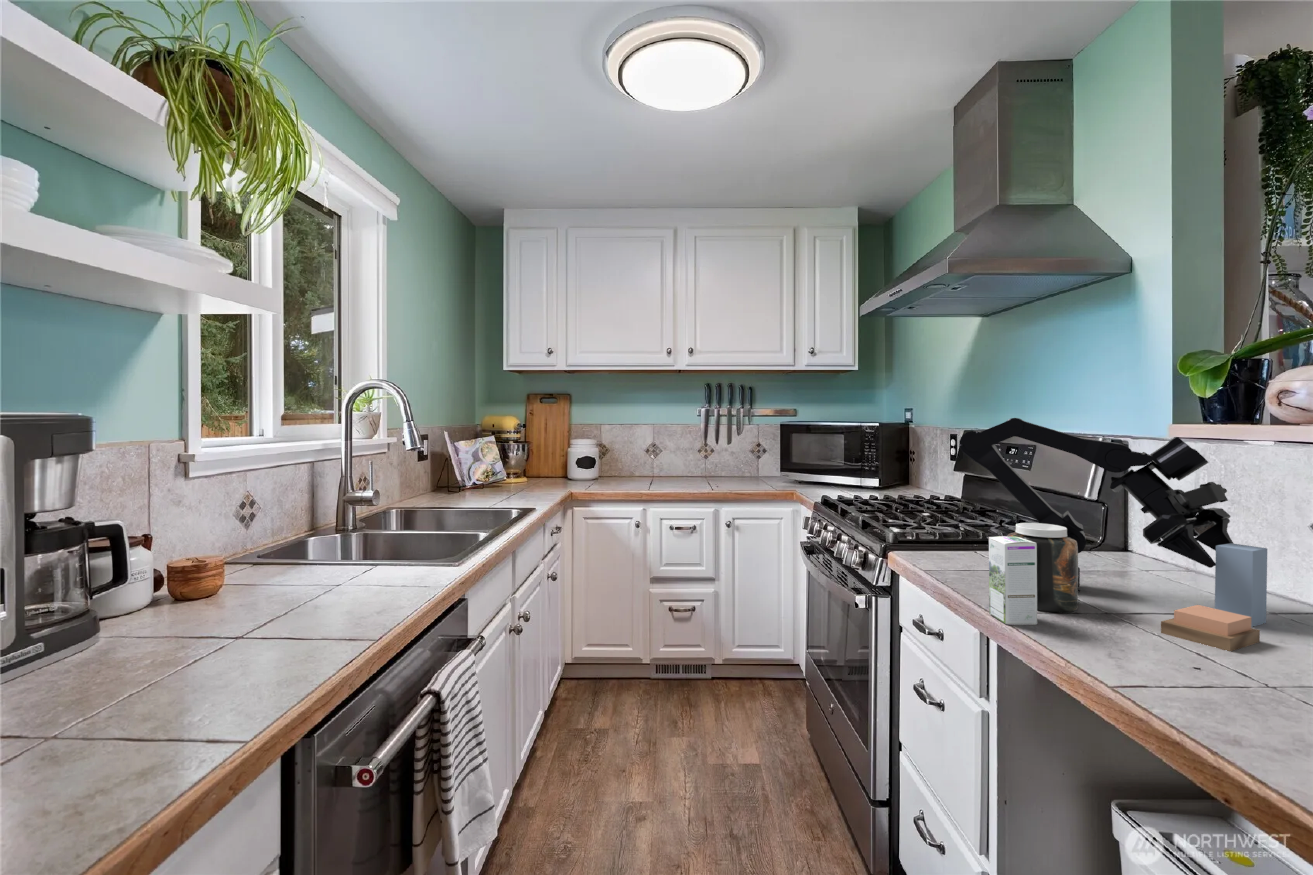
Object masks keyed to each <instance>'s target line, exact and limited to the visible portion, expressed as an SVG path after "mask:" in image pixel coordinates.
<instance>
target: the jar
mask: <svg viewBox="0 0 1313 875" xmlns="http://www.w3.org/2000/svg"><path fill="white" fill-rule="evenodd" d="M1006 536H1015V537H1020V538H1023V539H1026V540H1029V541H1032V542H1035V543H1037V611H1040V612H1046V613H1048V612H1049V613H1070V612H1071V613H1072V612H1075V611H1078V607H1079V592H1078V588H1079V587H1078V567H1079V553H1078V546H1077V542H1076V540H1074V539H1072V538H1070V537H1067V528H1066V527H1063V526H1058V525H1052V524H1043V523H1039V522H1020V523H1016V524H1015V531H1014V532H1011V533H1008V534H1007V535H1006Z"/></svg>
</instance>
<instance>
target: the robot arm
mask: <svg viewBox="0 0 1313 875" xmlns="http://www.w3.org/2000/svg"><path fill="white" fill-rule="evenodd" d="M1013 437H1014V438H1015V437H1017V438H1020V439H1023V440H1026V441H1031V442H1033V443H1036V444H1040V445H1043V446H1046V447H1050V448H1053V449H1055V450H1059V451H1063V452H1066V453H1069V454H1071V455H1074V456H1077V457H1079V458H1081V459H1083V460H1085V461H1087V462H1088V463H1090V464H1093V465H1095V466H1097V467H1099V468H1101V469H1103V470H1105V471H1107V472H1110V473H1117V474H1118V473H1119V474H1120V473H1123V472H1125V471H1127V470H1128V471H1127V472H1125V473H1124V474H1122V475H1121V476H1119V477H1118V476H1117V477H1116V476H1111V477H1110V481H1111V482H1110V486H1109V488H1110V490H1112V492H1114V493H1118V492H1120V491H1121V490H1123V489H1125V490H1126V491H1127V492H1128V493H1129V494H1130V495H1131V496H1132V497H1133V498H1134V500H1136V501H1137V502H1138V503H1139V504H1140V505H1141V506H1142V507H1141V508H1140V510H1141V512H1142V513H1143V514H1150V515H1152V516H1151V517H1153V518H1154V519H1155V520H1153V521H1152V522H1150V523H1149V524H1148V525H1147V526H1145V527H1143V529H1142V536H1143V538H1144V539H1145V540H1146V541H1147V542H1148V543H1149V544H1150V545H1153V544H1156V546H1158V547H1161V548H1164V549H1166V550H1168V551H1171V552H1173V553H1176V554H1178V555H1180V556H1183V557H1186V558H1187V559H1189V560H1192V561H1194V562H1196V563H1199V564H1200V565H1202V566H1205V567H1207V568H1209V569H1211V568H1213V567H1215V565H1216V561H1215V560H1214V558H1212V557H1211V556H1210V554H1209V553H1208V552H1207V551H1206V549H1205V548H1204V546H1206V547H1208V548H1210V549H1211V550H1213V551H1215V552H1216V546H1217V545H1223V544H1228V543H1233V544H1235V543H1234V541H1233V540H1232V538H1231V537H1230V535H1229V533H1228V526H1229V523H1230V522H1231V520H1230V518H1231V515H1230V514H1229V513H1228V512H1227V511H1226V510H1224V509H1223V508H1221V507H1210V508H1204V507H1205V506H1210V505H1212V504H1217V503H1224V502H1228V501H1229V499H1228V497H1227V496H1226V494H1227V492H1228V490H1227V489H1226V488H1225V487H1222V485H1221V484H1219V483H1218V484H1217V483H1215V482H1214V481H1208V482H1207V483H1202V484H1200V485H1199V487H1198V488H1194V489H1191V490H1188V491H1184V490H1182V489H1179V488H1178V489H1173V488H1172V487H1171V486H1170V485H1169V484H1167V483H1166V481H1165V480H1163V478H1161V477H1160V476H1159V475H1158V474H1157V473H1156V472H1155V471H1153V470H1154V469H1156V471H1158V472H1159V473H1160V474H1161V475H1162V476H1163V477H1164V478H1165V479H1167V480H1168V481H1170V480H1172V479H1173V480H1175V479H1176V481H1179V482H1180V481H1181V480H1183V479H1184V478H1186V477H1188V476H1189V475H1191V474H1193V473H1194V472H1196V471H1197V470H1199V469H1201V468H1202V467H1205V466H1206V465H1207V464H1209V461H1208V460H1207V459H1206V458H1205V457H1204V456H1203V455H1202V454H1201V453H1200V452H1199V451H1198V450H1196V448H1192V447H1191V446H1190V445H1189V444H1188V443H1186V442H1185V441H1183V440H1182V439H1181V438H1180V437H1178V436H1174V437H1173V438H1171V439H1170V440H1168V441H1167V443H1164V445H1163V446H1160V448H1157V449H1156V450H1155V451H1153V452H1152V453H1150V454H1149V453H1147V452H1145V451H1143V452H1139V451H1135V450H1132V449H1131V448H1129V447H1128V446H1127V445H1124V444H1123V443H1118V442H1114V441H1113V442H1112V441H1105V440H1099V439H1092V438H1091V439H1090V438H1085V437H1079V436H1076V435H1073V434H1069V433H1065V432H1062V431H1060V430H1059V431H1058V430H1055V429H1053V428H1049V427H1045V426H1042V425H1039V424H1035V423H1033V422H1029V421H1025V420H1023V419H1021V418H1019V417H1011V418H1009V419H1007V420H1006V421H1004V422H1002V423H999V424H996V425H994V426H992V427H989V428H987V429H984V430H971V431H967V432H965V433H964V434H963V435H962V436H961V437H960V439H959V442H958V444H959V446H958V447H959V449H960V450H961V452H962V454H964V455H965V456H966V457H967V458H969V459H970V460H972V461H974V462H975V463H976V464H977V465H979V466H981V467H983V468H984V469H986V470H987V471H988V472H990V473H991V475H992V476H993V477H994V478H995V479H997V481H998V482H1000V484H1001V485H1002V486H1003V487H1004V488H1005V489H1006V490H1007V491H1008V492H1009V493H1010V494H1011V495H1012V496H1013V497H1014V498H1015V499H1016V501H1018V502H1019V503H1020V504H1021V506H1023V508H1024V509H1026V510H1027V512H1029V514H1030V515H1031V516H1032V517H1033V518H1034V519H1035V520H1036V521H1037V523H1043V524H1052V525H1058V526H1063V527H1066V528H1067V537H1070V538H1072V539H1074V540H1076V542H1077V546H1078V554H1080V553H1082V551H1084V549H1085V548H1086V544H1087V539H1086V534H1085V532H1084V526H1083V524H1082V523H1079V522H1078V521H1077V520H1075V518H1074V517H1073V516H1072V514H1071V513H1070V511H1069V510H1066V511H1065V512H1063V514H1062V513H1060V512H1058V511H1057V510H1055V508H1053V507H1052V506H1051V505H1050V504H1049V503H1048V502H1047V501H1046V500H1045V499H1044V498H1043V497H1042V496H1041V495H1040V494H1039V493H1038V492H1037V491H1036V490H1035V489H1034V488H1033V487H1032V486H1031V485H1030V484H1029V483H1028V482H1027V481H1026V480H1025V479H1024V478H1023V477H1022V475H1020V474H1019V473H1018V472H1017V471H1016V470H1015V469H1014V468H1013V467H1012V466H1011V465H1010V464H1009V463H1008V462H1007V461H1006V460H1005V458H1003V456H1002V454H1001V452H1000V451H999V449H998V447H997V444H998V443H1001V442H1003V441H1006V440H1009V439H1011V438H1013ZM1141 466H1142V467H1141ZM1131 467H1141V468H1138V469H1136V470H1134V469H1133V468H1132V469H1130V468H1131ZM1129 469H1130V470H1129ZM1200 543H1201V544H1203V545H1204V546H1202V545H1201V544H1200ZM1080 573H1081V568H1080V567H1079V566H1078V593H1080V592H1081V589H1080V588H1079V587H1080V585H1081V582H1080V581H1081V578H1080V577H1081V574H1080Z"/></svg>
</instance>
